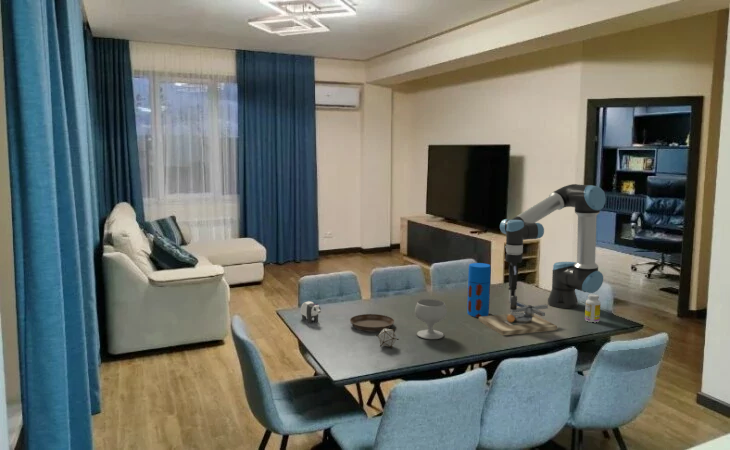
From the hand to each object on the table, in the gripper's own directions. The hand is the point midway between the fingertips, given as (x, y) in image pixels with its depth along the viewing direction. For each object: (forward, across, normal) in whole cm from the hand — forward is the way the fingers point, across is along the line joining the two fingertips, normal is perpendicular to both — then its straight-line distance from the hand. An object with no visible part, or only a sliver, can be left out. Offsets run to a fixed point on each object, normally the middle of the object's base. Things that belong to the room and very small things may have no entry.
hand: (512, 302), depth 258 cm
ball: (+8, +4, -1) cm, 9 cm away
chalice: (+11, +21, -38) cm, 44 cm away
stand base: (+11, +1, +2) cm, 11 cm away
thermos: (+11, -15, -14) cm, 23 cm away
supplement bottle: (+11, -12, +40) cm, 43 cm away
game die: (+11, +38, -55) cm, 68 cm away
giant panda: (+10, +9, -94) cm, 95 cm away
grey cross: (+8, +1, +8) cm, 11 cm away
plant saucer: (+11, +13, -65) cm, 67 cm away
